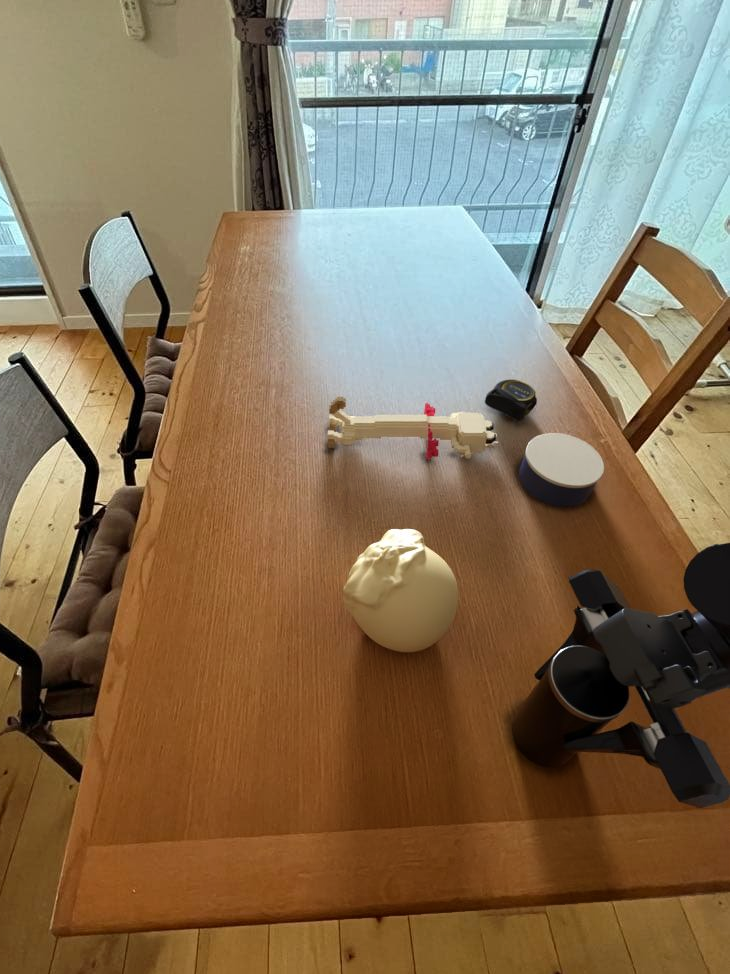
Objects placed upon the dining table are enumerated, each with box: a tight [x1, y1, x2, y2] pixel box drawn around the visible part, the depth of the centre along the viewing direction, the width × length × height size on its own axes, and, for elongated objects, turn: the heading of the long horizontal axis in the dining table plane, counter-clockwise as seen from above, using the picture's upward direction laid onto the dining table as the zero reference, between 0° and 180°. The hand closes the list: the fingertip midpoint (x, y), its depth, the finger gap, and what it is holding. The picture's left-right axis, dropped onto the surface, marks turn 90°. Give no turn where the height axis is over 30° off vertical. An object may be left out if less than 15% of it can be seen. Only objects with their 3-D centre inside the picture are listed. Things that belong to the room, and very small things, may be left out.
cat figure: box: [327, 396, 499, 461], centre depth 81 cm, size 10×9×25 cm
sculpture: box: [342, 528, 459, 653], centre depth 60 cm, size 12×12×11 cm
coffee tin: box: [518, 432, 605, 508], centre depth 78 cm, size 10×10×4 cm
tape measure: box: [484, 379, 538, 423], centre depth 89 cm, size 7×7×4 cm
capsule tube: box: [511, 646, 630, 769], centre depth 50 cm, size 6×6×13 cm
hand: (549, 711), depth 50 cm, fingers closed on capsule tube, 6 cm apart
